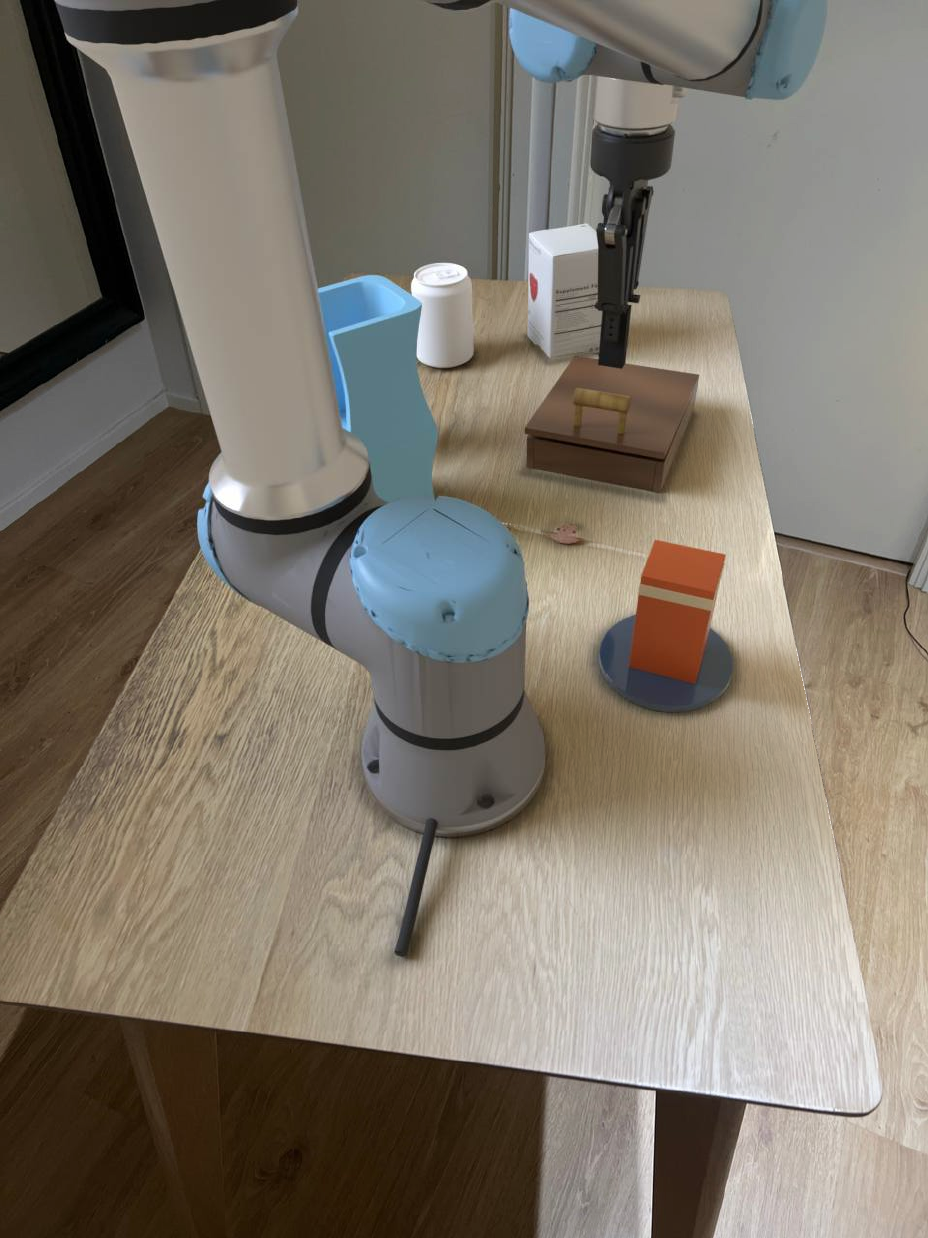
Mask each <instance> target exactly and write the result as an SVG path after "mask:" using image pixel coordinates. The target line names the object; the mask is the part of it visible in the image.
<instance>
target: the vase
mask: <svg viewBox="0 0 928 1238" xmlns="http://www.w3.org/2000/svg"><path fill="white" fill-rule="evenodd" d="M318 293H319V298H320V304H321V310H322V315H323V321H324V327H325V332H326V338H327V344H328V349H329V355H330V361H331V366H332V372H333V378H334V383H335V389H336V395H337V400H338V406H339V411H340V417H341V423H342V428H343V429H345V430H347V431H349V432H351V433H353V434H354V435H355V436H357V437H358V438H359V439H360V440H361V441H362V443H363V444H364V446H365V447H366V449H367V452H368V456H369V462H370V469H371V474H372V481H373V487H374V491H375V493H376V494H377V496H378V497H379V498H380V499H382V500H385V501H387V502H389V503H390V502H393V501H395V500H398V499H402V498H406V497H412V496H423V495H424V496H425V498H426V499H427V500H430V501H435V500H436V498H435V493H434V488H433V487H434V486H433V470H434V462H435V457H436V455H435V454H436V451H437V446H438V441H439V428H438V425H437V423H436V420H435V418H434V416H433V413H432V412H431V410H430V407H429V405H428V402H427V400H426V397H425V394H424V391H423V388H422V385H421V379H420V375H419V370H418V358H417V338H418V330H419V323H420V317H421V310H422V303H421V302H420V301H419V300H418V299H417V298H415V297H414V296H412V293H409V292H408V291H407V290H405V289H403V288H402V287H401V286H399V285H397V283H394V282H393V281H392V280H390V279H388V278H387V277H385V276H382V275H379V274H378V275H376V274H367V275H362V276H357V277H354V278H351V279H347V280H344V281H339V282H336V283H333V284H330V285H326V286H322V287H319V288H318Z"/></svg>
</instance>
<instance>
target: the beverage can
mask: <svg viewBox="0 0 928 1238" xmlns="http://www.w3.org/2000/svg"><path fill="white" fill-rule="evenodd" d="M468 272H469V271H468V270H467V268H466V267H464V266H462V265H460V264H457V263H450V262H435V263H430V264H426V265H423V266H420V267H419V268H418V269H416V270H415V271H414V273H413V279H412V280H411V282H410V290H411V295H412V296H414V297H415V298H417V299H418V300H419V301H420V302H421V303H422V310H421V317H420V323H419V330H418V338H417V360H418V361H419V362H420V363H422V364H424V365H426V366H429V367H432V368H436V369H451V368H455V367H458V366H461V365H464V364H465V363H467V362H468V361H470V360H471V359H472V358H473V356H474V351H475V349H474V347H475V346H474V318H473V316H474V313H473V285H472V284H473V283H472V279H471V277H470V275H469V273H468Z"/></svg>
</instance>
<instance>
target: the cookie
mask: <svg viewBox="0 0 928 1238" xmlns="http://www.w3.org/2000/svg"><path fill="white" fill-rule="evenodd" d="M576 530H577V525H575V524H573V523H565V524H562V525H561V526H558V527H556V531H557V532H555V531H547V534H548V536H549V538H551V540H553V541H555V542H557V543H560V544H566V545H567V544H575V543H578V542H580V541H582V540H583V538H582V537H577V536H572V535H574V534H576V532H577V531H576Z"/></svg>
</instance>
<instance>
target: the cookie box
mask: <svg viewBox="0 0 928 1238" xmlns="http://www.w3.org/2000/svg"><path fill="white" fill-rule="evenodd" d="M726 557H727V555H726V554H725V553H721V552H715V551H711V550H707V549H701V548H696V547H692V546H687V545H682V544H678V543H672V542H667V541H664V540H658V539H654V542H653V544H652V547H651V549H650V552H649V554H648V557H647V560H646V562H645V565H644V567H643V570H642V571H641V572H642V573H641V575H640V581H639V584H638V592H637V595H638V597H637V604H636V609H635V610H636V611H635V615H636V617H635V625H634V632H633V639H632V647H631V654H630V661H629V667H630V668H634V669H638V670H641V671H645V672H649V673H653V674H657V675H661V676H665V677H669V678H673V679H677V680H681V681H685V682H689V683H693V684H695V683H696V679H697V676H698V672H699V669H700V665H701V662H702V658H703V655H704V651H705V648H706V644H707V639H708V634H709V630H710V628H711V625H712V621H713V620H712V619H713V616H714V612H715V608H716V603H717V598H718V593H719V589H720V584H721V580H722V577H723V573H724V568H725V564H726V563H725V562H726Z"/></svg>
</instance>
